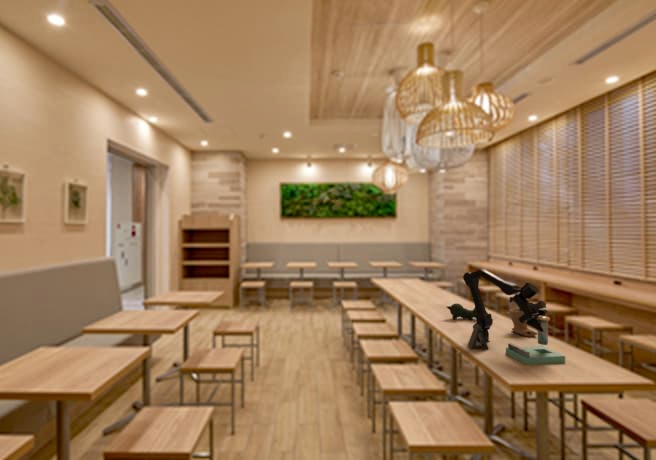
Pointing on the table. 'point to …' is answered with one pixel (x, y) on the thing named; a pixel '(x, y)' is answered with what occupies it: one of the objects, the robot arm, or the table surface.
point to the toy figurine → (462, 311)
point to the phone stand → (473, 339)
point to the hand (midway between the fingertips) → (545, 330)
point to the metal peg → (543, 323)
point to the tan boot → (518, 326)
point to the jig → (534, 354)
